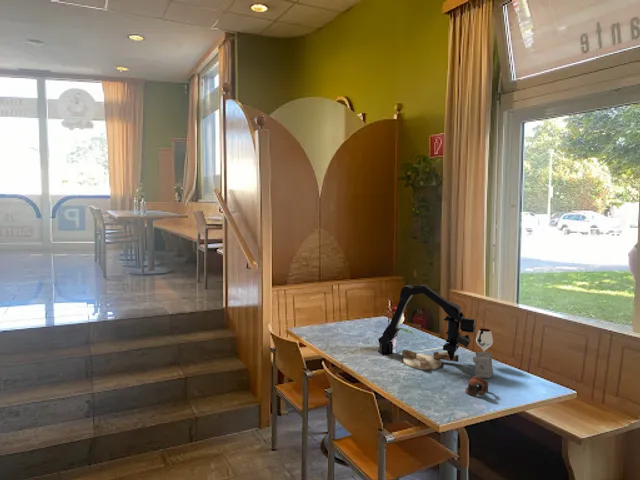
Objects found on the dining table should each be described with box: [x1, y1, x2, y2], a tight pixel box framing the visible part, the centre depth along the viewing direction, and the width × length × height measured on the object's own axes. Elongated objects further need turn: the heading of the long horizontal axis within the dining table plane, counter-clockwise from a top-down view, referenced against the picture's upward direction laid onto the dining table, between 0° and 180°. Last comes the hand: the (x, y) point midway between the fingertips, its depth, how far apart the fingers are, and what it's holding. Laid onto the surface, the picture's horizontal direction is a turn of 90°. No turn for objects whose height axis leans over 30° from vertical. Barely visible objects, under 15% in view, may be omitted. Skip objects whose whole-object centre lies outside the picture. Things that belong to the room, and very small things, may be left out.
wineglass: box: [475, 327, 494, 352], centre depth 243 cm, size 8×8×18 cm
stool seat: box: [401, 349, 442, 371], centre depth 244 cm, size 19×20×4 cm
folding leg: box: [433, 351, 459, 363], centre depth 245 cm, size 12×3×3 cm, turn 70°
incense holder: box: [472, 351, 494, 379], centre depth 228 cm, size 10×8×10 cm
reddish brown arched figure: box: [465, 375, 489, 398], centre depth 207 cm, size 12×9×8 cm
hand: (451, 359), depth 241 cm, fingers closed
